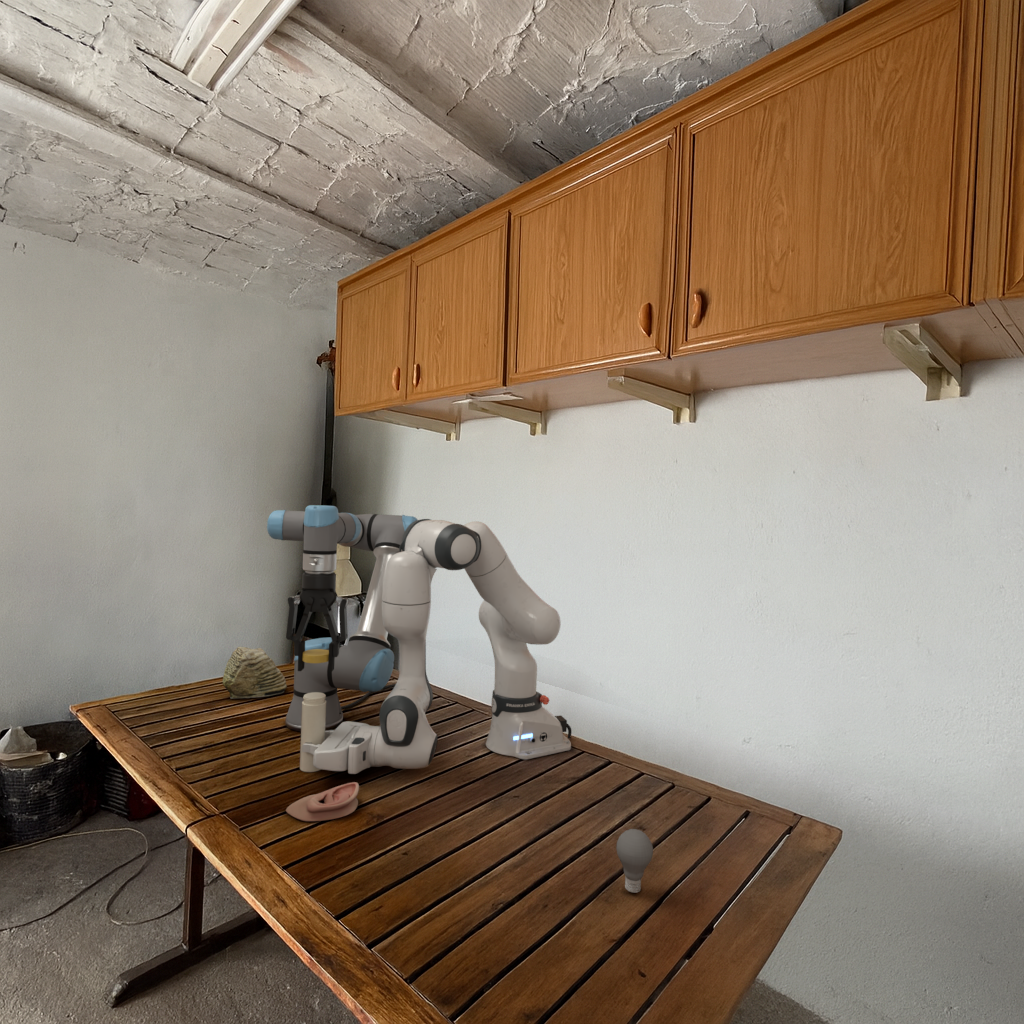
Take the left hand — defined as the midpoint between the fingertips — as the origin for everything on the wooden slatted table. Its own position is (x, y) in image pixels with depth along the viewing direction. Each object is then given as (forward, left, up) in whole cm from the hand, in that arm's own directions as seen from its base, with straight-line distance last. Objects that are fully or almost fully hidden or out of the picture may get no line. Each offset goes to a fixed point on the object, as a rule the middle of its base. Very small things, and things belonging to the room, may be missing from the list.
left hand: (316, 669), depth 148 cm
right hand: (+1, -1, -17) cm, 17 cm away
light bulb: (-9, +79, -23) cm, 83 cm away
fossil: (-18, -58, -23) cm, 64 cm away
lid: (0, 0, +4) cm, 4 cm away
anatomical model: (+10, +19, -23) cm, 31 cm away
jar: (0, 0, -23) cm, 23 cm away
